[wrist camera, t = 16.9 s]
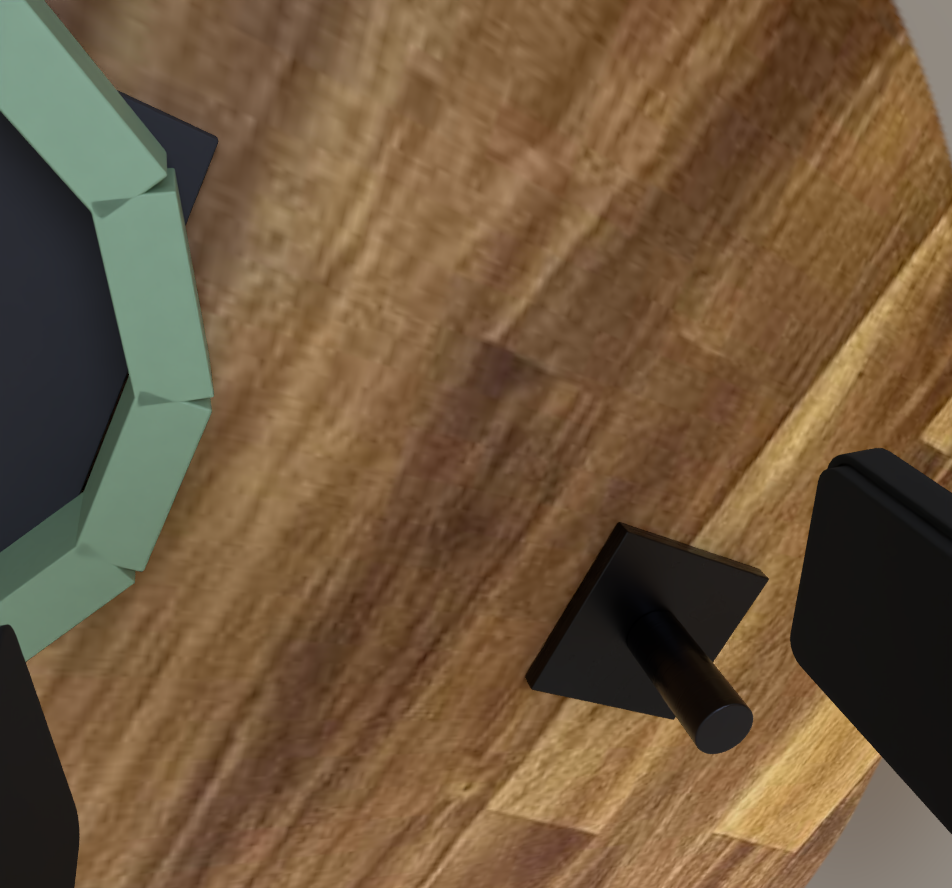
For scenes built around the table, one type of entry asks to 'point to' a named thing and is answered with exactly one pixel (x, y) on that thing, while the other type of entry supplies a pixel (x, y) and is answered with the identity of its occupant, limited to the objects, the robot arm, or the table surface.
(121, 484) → the hoop
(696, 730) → the post
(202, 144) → the mat
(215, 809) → the table surface
